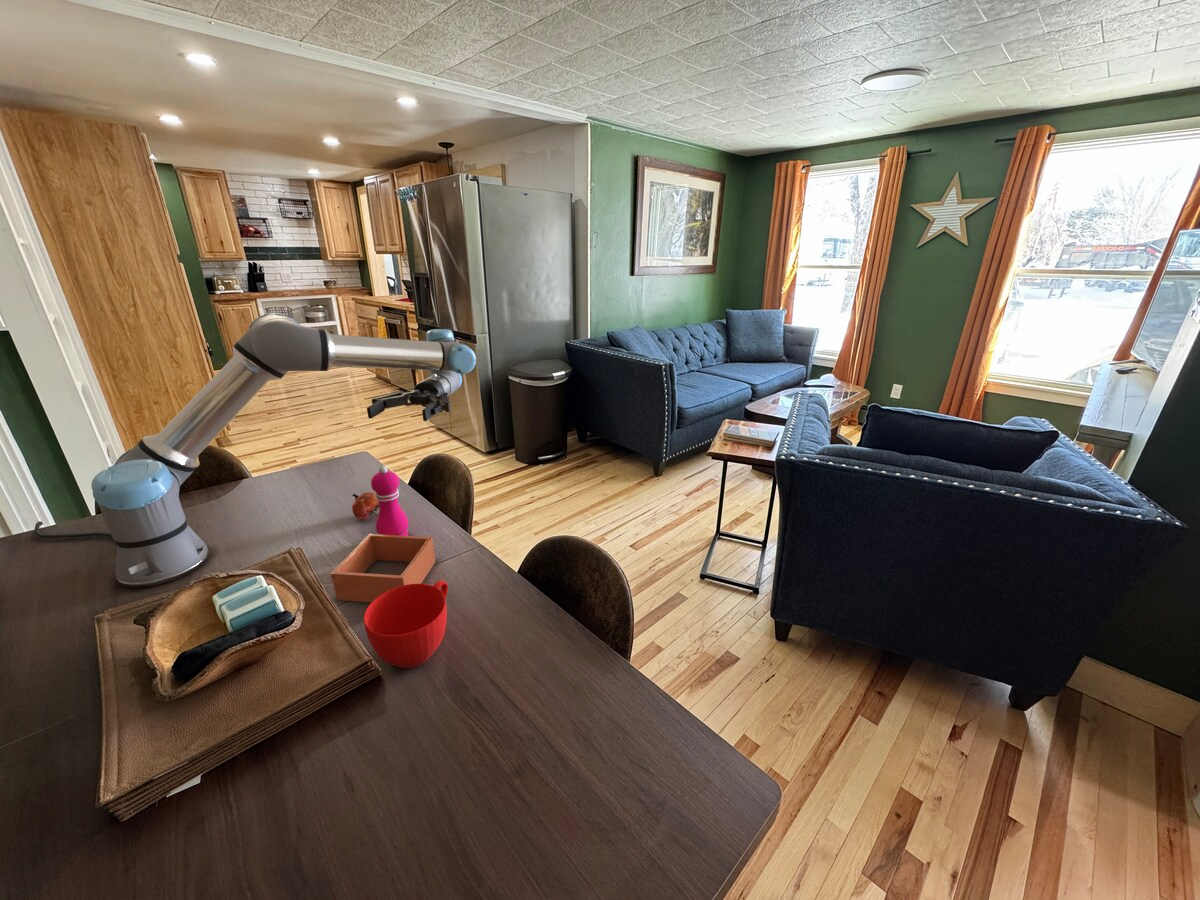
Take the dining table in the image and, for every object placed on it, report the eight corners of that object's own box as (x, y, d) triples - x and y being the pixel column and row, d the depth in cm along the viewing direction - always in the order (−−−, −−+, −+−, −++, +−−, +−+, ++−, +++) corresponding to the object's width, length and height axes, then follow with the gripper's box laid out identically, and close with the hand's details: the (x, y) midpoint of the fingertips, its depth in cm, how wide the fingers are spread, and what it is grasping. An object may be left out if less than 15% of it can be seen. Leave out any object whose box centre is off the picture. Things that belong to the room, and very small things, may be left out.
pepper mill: (400, 550, 112) (387, 474, 104) (372, 546, 113) (358, 471, 105) (416, 534, 118) (405, 461, 111) (390, 531, 119) (377, 458, 112)
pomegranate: (390, 518, 129) (364, 493, 130) (396, 505, 124) (370, 479, 125) (367, 534, 123) (340, 507, 124) (373, 520, 119) (345, 492, 119)
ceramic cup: (477, 622, 91) (473, 579, 87) (419, 693, 76) (411, 645, 72) (421, 606, 94) (415, 564, 91) (355, 670, 79) (344, 624, 76)
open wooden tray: (337, 600, 95) (330, 573, 93) (373, 557, 109) (369, 533, 106) (407, 604, 95) (402, 578, 92) (435, 561, 108) (432, 537, 106)
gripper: (386, 376, 132) (343, 396, 113) (474, 380, 131) (445, 401, 111) (390, 402, 135) (349, 426, 115) (476, 406, 134) (448, 431, 114)
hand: (396, 414), depth 113 cm, fingers open, 13 cm apart
